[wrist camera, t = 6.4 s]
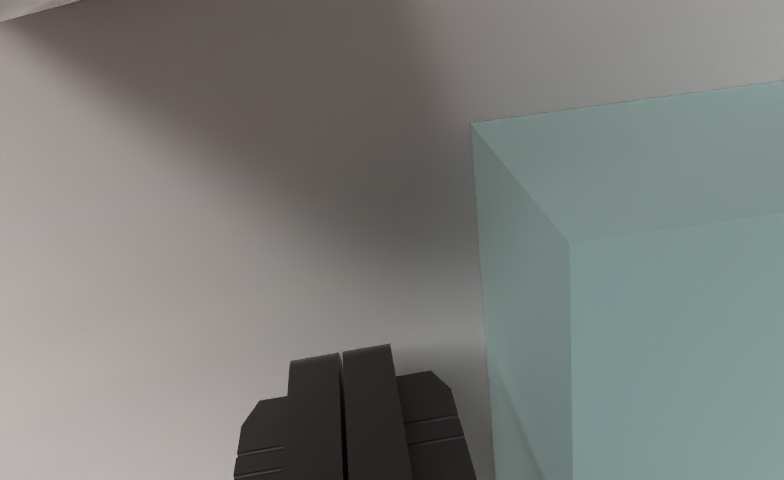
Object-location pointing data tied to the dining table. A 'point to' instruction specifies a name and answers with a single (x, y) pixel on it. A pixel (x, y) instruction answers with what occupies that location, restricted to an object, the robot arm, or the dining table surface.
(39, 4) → the grey tumbler
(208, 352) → the dining table surface
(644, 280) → the teal carton
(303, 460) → the robot arm
